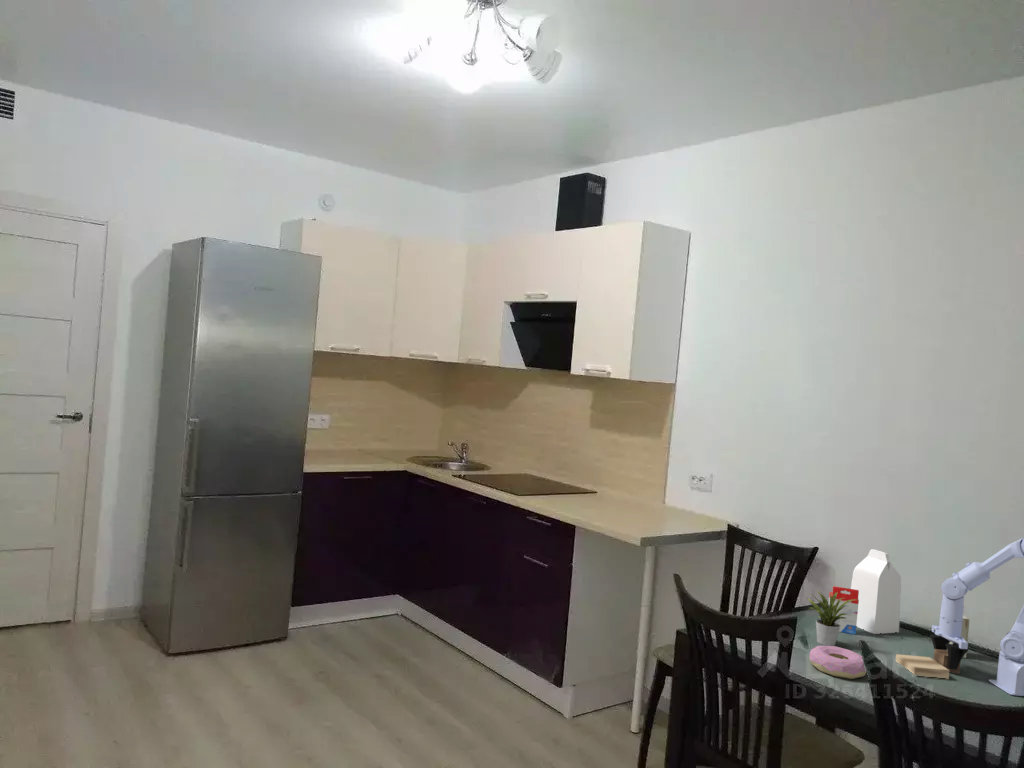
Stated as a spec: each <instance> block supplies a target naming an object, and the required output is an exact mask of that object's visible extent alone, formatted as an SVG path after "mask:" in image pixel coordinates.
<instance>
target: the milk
mask: <svg viewBox="0 0 1024 768" xmlns="http://www.w3.org/2000/svg"><path fill="white" fill-rule="evenodd" d="M851 577H852V578H851V584H850V589H855V590H859V595H858V600H859V603H858V614H857V624H856V626H857V627H856V628H858V629H862V630H863V629H864V631H866V632H868V633H870V634H873V635H876V634H877V635H879V634H880V633H881V634H895V632H897V633H900V615H901V593H902V591H901V590H902V577H901V574H900V573H899V571H898V570H897V569H896V567H894V565H893V564H892V563H891V560H890V556H889V553H888V552H884V551H881V550H878V549H875V548H873V549H872V548H871V549H870V550H869V552H868V553H867V556H866V557H865V558H863V560H861V561H860V562H859V563H858V564H857V565H856V566H855V567H854V569H853V572H852V576H851Z"/></svg>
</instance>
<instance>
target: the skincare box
mask: <svg viewBox="0 0 1024 768" xmlns="http://www.w3.org/2000/svg"><path fill="white" fill-rule="evenodd" d="M970 621H971V620H970V618H969V617H967V615H965V614H963V620H962V630H961V636H962V637H963V639H964V640H965V641H966V642H968V640H969V632H970V631H969V629H970ZM968 643H969V642H968ZM949 644H953V643H952V642H951V641H950V643H949ZM967 654H968V652H966V654H965V655H964V656H963V658H962V659H966V658H967Z"/></svg>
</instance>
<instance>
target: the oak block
mask: <svg viewBox="0 0 1024 768" xmlns="http://www.w3.org/2000/svg"><path fill="white" fill-rule="evenodd" d="M895 661H896V662H897V663H899V664H901V665H902V666H904V667H905V668H906V669H908V670H909V671H910V672H912V673H913V674H914V675H919V676H927V677H938V678H946V679H945V680H949V679H950V673H949V672H950V670H948V669H947V668H945V667H944V666H942V665H941V664H939V663H938V662H936V661H935V660H933V658H932V657H930V656H924V655H923V656H921V655H911V654H910V655H908V654H900V653H899V654H898V653H897V654H895ZM927 677H926V678H927ZM938 678H937V679H938Z"/></svg>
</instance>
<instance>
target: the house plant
mask: <svg viewBox="0 0 1024 768" xmlns="http://www.w3.org/2000/svg"><path fill="white" fill-rule="evenodd" d="M815 592H817V593H818V595H819V596H820V598H821V599H822V600H821V599H818V598H817V597H816V596H815V595H813V594H812V593H810V595H812V596H813V597H814V599H816V601H817V602H818V603H819V605H820V606H819V605H818V604H817V603H816V602H815V601H813V600H812V599H810V598H808V597H807V598H806V599H807V601H808V602H809V603H810V605H811V606H813V607H808V610H810V609H811V610H812V609H813V610H814V611H815V612H817V613H818V614H819V615H818V617H817V618H820V619H816V620H815V627H816V631H815V632H816V641H817V643H818V644H821V645H822V646H835V645H836V642H837V639H838V635H839V633H840V632H839V629H840V625H839V624H838V623H836V622H835V621H836V620H838V619H847V618H845V617H840V616H842V615H847V614H845V613H841V614H839V615H837V613H838V612H839V611H840V610H841V609H842V608H844V607H845V606H846V605H845V604H846V603H848V602H850V601H853V600H848V601H846V602H844V603H843V604H842V605H840V606H839V608H838V609H837V607H838V605H839V603H840V601H841V599H842V598H841V599H839V600H838V602H837V603H836V605H834V602H835V599H836V597H837V592H836V593H835V594H834V595H833V597H832V595H831V593H830V592H829V593H830V606H829V605H828V604H829V601H828V600H827V598H826V596H825V595H824V593H823V592H822V591H821V590H819V591H817V590H815ZM844 605H845V606H844ZM847 605H848V604H847ZM833 612H834V613H833ZM832 615H833V616H832ZM836 615H837V616H836Z"/></svg>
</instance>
